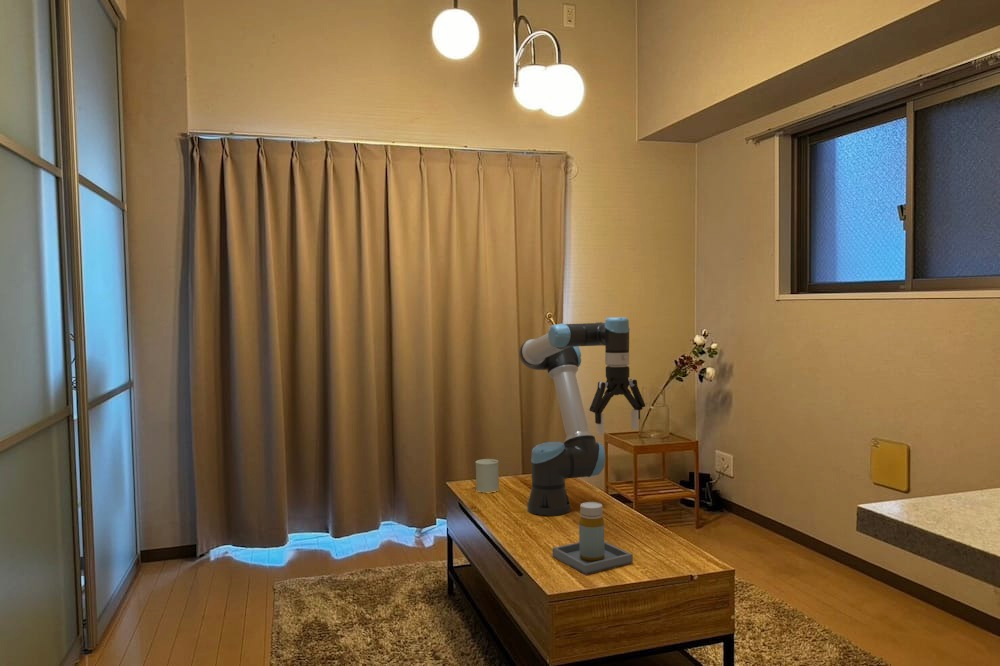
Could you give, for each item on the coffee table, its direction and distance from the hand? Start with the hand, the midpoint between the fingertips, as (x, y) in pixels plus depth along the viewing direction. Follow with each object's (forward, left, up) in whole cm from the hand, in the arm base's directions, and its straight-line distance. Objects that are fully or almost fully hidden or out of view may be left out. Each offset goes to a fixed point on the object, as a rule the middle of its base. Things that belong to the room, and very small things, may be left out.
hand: (618, 431), depth 220 cm
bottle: (+18, -24, -31) cm, 43 cm away
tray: (+18, -24, -31) cm, 43 cm away
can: (-64, -14, -32) cm, 73 cm away
